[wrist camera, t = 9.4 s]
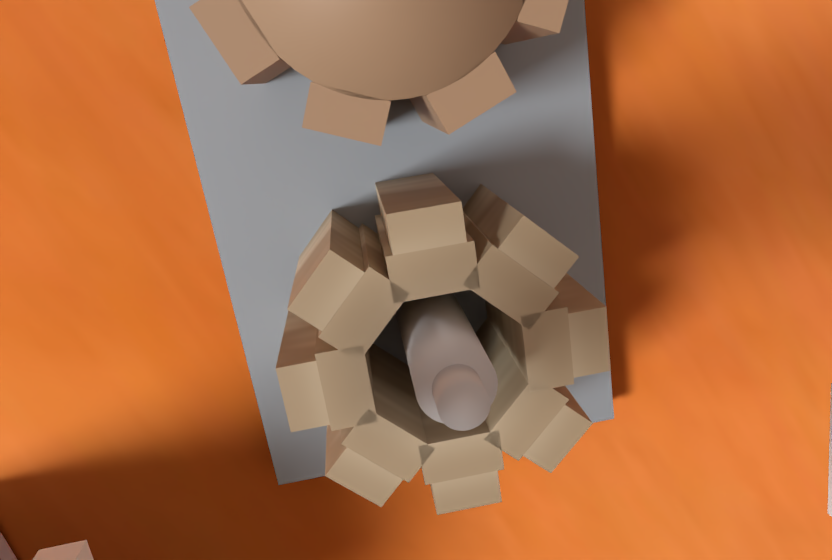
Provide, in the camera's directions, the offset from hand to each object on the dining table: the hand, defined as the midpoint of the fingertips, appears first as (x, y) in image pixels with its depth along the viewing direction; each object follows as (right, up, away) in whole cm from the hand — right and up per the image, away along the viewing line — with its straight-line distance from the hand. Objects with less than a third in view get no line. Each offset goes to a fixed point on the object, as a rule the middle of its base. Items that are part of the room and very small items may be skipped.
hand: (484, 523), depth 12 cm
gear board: (-2, +8, +10) cm, 13 cm away
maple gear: (-1, +3, +10) cm, 11 cm away
